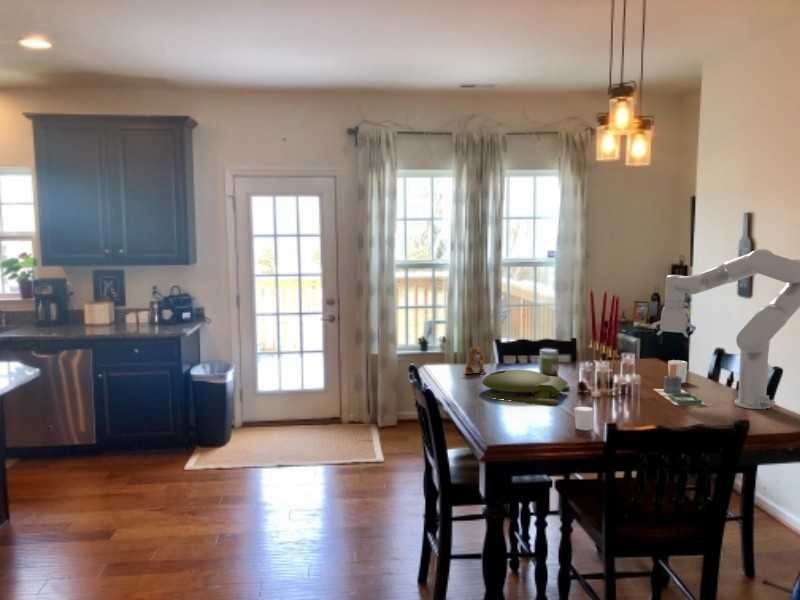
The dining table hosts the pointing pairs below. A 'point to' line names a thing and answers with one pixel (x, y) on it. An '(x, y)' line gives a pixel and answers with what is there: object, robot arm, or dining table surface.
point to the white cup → (680, 369)
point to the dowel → (672, 370)
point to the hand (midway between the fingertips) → (672, 345)
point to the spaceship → (526, 386)
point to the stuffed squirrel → (475, 361)
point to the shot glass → (584, 417)
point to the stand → (678, 393)
